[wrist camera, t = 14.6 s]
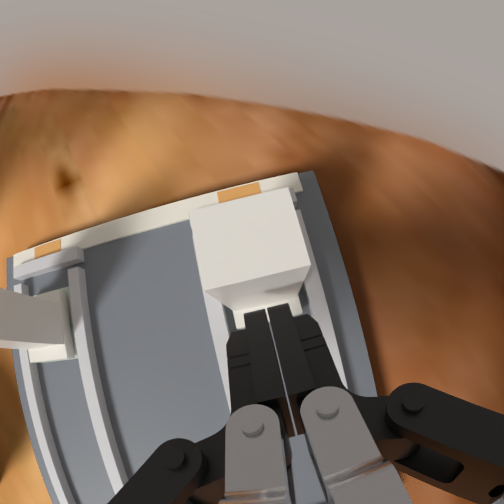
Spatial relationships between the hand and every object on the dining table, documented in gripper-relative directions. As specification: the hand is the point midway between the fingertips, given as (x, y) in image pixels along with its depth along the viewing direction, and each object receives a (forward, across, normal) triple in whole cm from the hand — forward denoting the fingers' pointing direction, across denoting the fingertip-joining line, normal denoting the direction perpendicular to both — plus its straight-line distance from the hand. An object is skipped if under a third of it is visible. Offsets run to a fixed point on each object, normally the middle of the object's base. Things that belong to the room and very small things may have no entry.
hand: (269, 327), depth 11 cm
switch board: (+3, +6, +7) cm, 10 cm away
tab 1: (+5, +13, +2) cm, 14 cm away
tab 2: (+5, 0, +2) cm, 6 cm away
